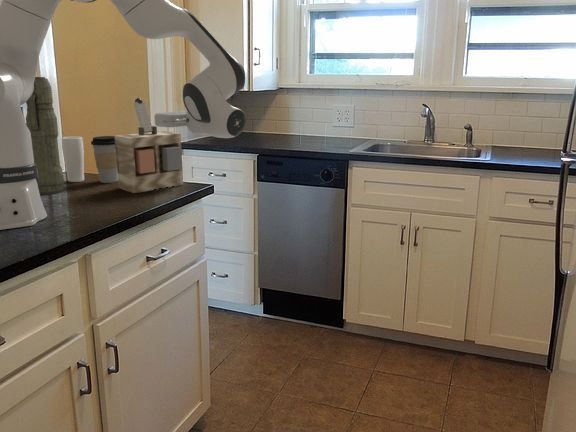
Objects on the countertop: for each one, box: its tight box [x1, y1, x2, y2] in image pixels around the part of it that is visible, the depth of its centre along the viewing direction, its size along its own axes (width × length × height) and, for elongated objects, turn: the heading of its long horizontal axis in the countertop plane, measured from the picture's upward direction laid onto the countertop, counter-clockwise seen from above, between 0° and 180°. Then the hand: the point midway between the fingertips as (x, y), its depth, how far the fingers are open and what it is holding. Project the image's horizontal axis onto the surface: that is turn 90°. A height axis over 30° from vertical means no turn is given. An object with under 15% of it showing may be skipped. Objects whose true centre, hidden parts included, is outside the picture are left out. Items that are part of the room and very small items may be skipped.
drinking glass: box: [61, 135, 85, 183], centre depth 192 cm, size 7×7×15 cm
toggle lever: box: [133, 97, 153, 133], centre depth 181 cm, size 3×2×12 cm
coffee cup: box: [90, 135, 118, 184], centre depth 192 cm, size 9×9×15 cm
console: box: [114, 125, 184, 194], centre depth 182 cm, size 18×10×19 cm, turn 133°
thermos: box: [25, 76, 65, 195], centre depth 174 cm, size 9×12×35 cm
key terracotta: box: [134, 149, 155, 174], centre depth 178 cm, size 5×7×7 cm
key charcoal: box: [160, 146, 183, 171], centre depth 182 cm, size 5×7×7 cm
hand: (174, 116), depth 168 cm, fingers closed
